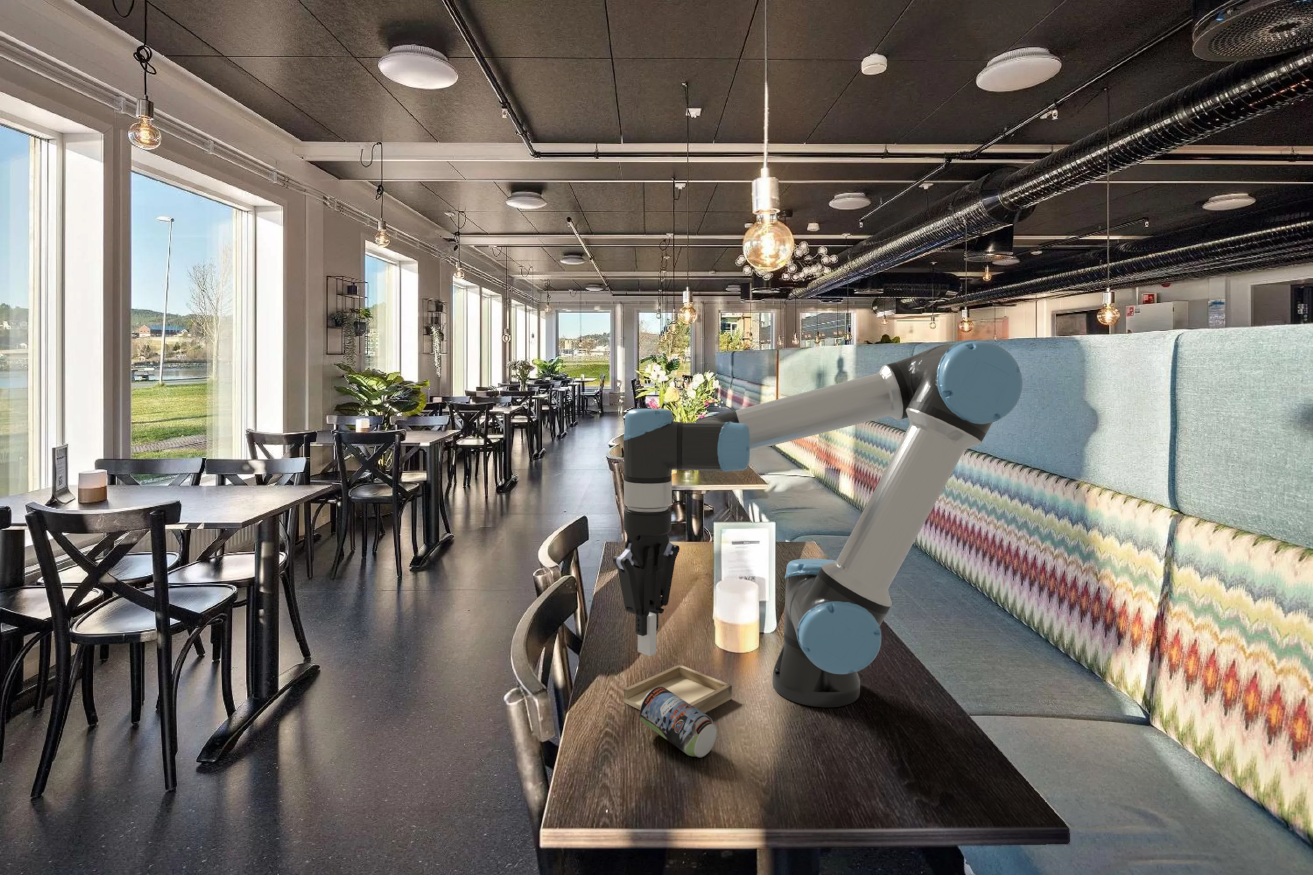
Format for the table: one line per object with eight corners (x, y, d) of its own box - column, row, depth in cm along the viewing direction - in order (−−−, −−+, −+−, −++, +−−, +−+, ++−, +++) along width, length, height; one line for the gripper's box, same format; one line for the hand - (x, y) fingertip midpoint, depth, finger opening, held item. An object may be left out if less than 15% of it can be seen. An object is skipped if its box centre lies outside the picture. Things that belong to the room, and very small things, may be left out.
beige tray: (731, 698, 118) (731, 685, 117) (676, 728, 107) (677, 713, 107) (679, 676, 126) (679, 664, 126) (623, 702, 116) (624, 688, 115)
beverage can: (661, 677, 108) (722, 703, 100) (661, 722, 109) (722, 750, 101) (634, 691, 104) (695, 719, 96) (634, 737, 105) (695, 768, 97)
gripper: (659, 498, 115) (658, 635, 117) (600, 509, 106) (600, 657, 108) (692, 504, 110) (691, 647, 112) (634, 516, 100) (634, 672, 103)
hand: (646, 652), depth 110 cm, fingers closed
